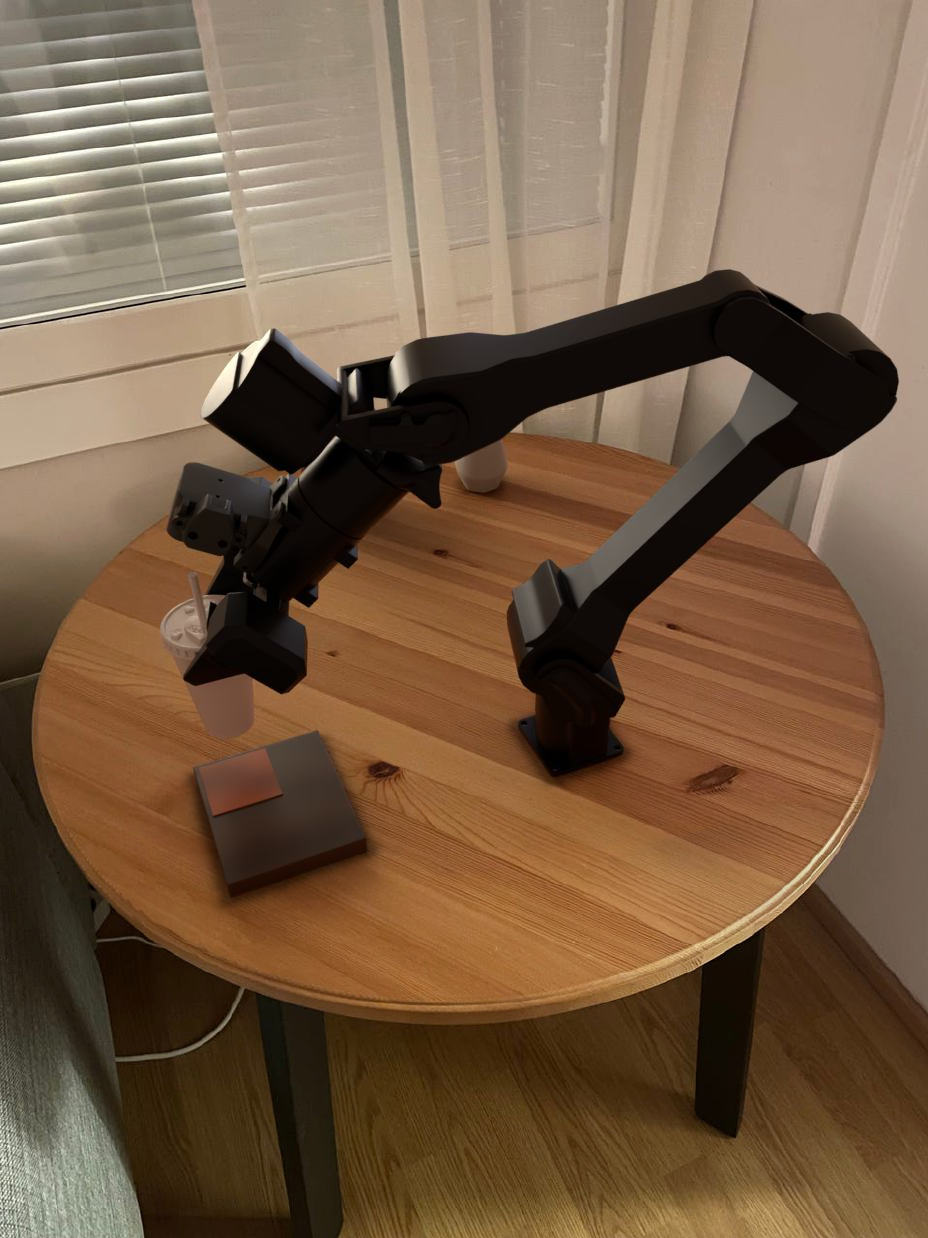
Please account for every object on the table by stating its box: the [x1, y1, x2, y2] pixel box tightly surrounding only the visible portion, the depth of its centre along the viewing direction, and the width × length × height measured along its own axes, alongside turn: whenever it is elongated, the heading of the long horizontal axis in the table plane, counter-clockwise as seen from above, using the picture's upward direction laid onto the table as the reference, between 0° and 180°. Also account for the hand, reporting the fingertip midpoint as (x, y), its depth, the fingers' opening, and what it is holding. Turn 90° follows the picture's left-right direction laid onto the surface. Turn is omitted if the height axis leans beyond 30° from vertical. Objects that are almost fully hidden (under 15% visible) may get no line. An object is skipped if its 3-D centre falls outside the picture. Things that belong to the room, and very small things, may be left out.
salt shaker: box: [454, 438, 509, 494], centre depth 109 cm, size 6×6×13 cm
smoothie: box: [159, 571, 255, 740], centre depth 71 cm, size 6×6×14 cm
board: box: [192, 729, 368, 898], centre depth 75 cm, size 12×10×2 cm
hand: (193, 650), depth 71 cm, fingers closed on smoothie, 6 cm apart
